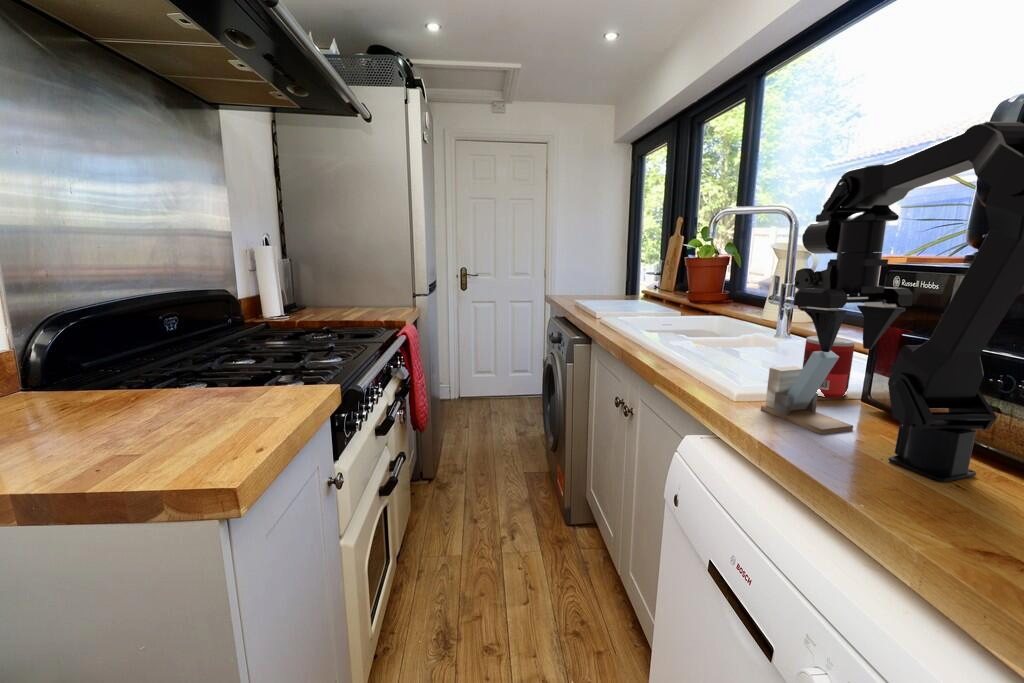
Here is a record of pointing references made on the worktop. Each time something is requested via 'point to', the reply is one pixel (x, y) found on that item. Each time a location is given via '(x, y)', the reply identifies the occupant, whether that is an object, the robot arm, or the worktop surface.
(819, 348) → the canned food
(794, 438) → the worktop surface
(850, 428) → the wooden base block holder
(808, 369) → the leg
